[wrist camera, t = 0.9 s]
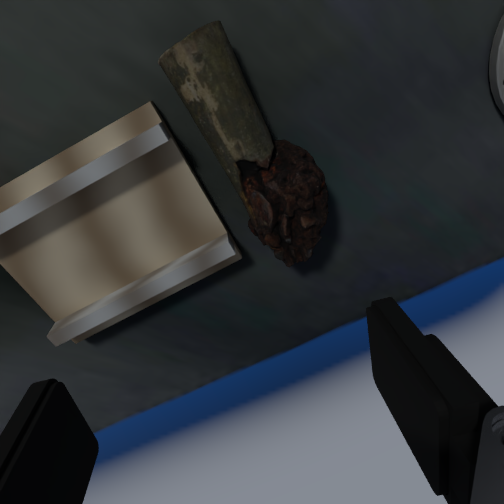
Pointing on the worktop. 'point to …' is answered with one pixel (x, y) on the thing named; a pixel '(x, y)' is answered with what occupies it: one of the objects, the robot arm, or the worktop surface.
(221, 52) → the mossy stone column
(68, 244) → the pipe cradle
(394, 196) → the worktop surface
